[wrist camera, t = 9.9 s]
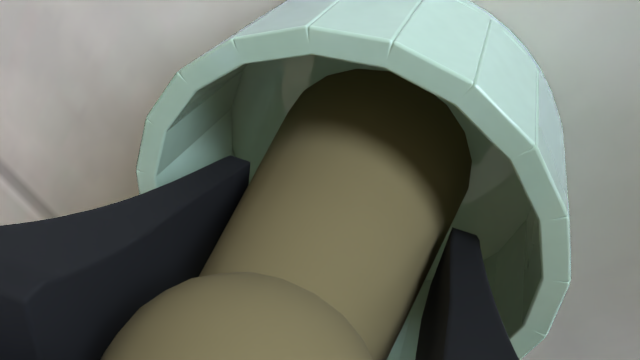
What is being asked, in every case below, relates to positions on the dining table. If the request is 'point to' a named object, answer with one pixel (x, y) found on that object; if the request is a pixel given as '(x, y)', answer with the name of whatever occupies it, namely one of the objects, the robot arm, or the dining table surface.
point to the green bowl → (424, 71)
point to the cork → (321, 233)
